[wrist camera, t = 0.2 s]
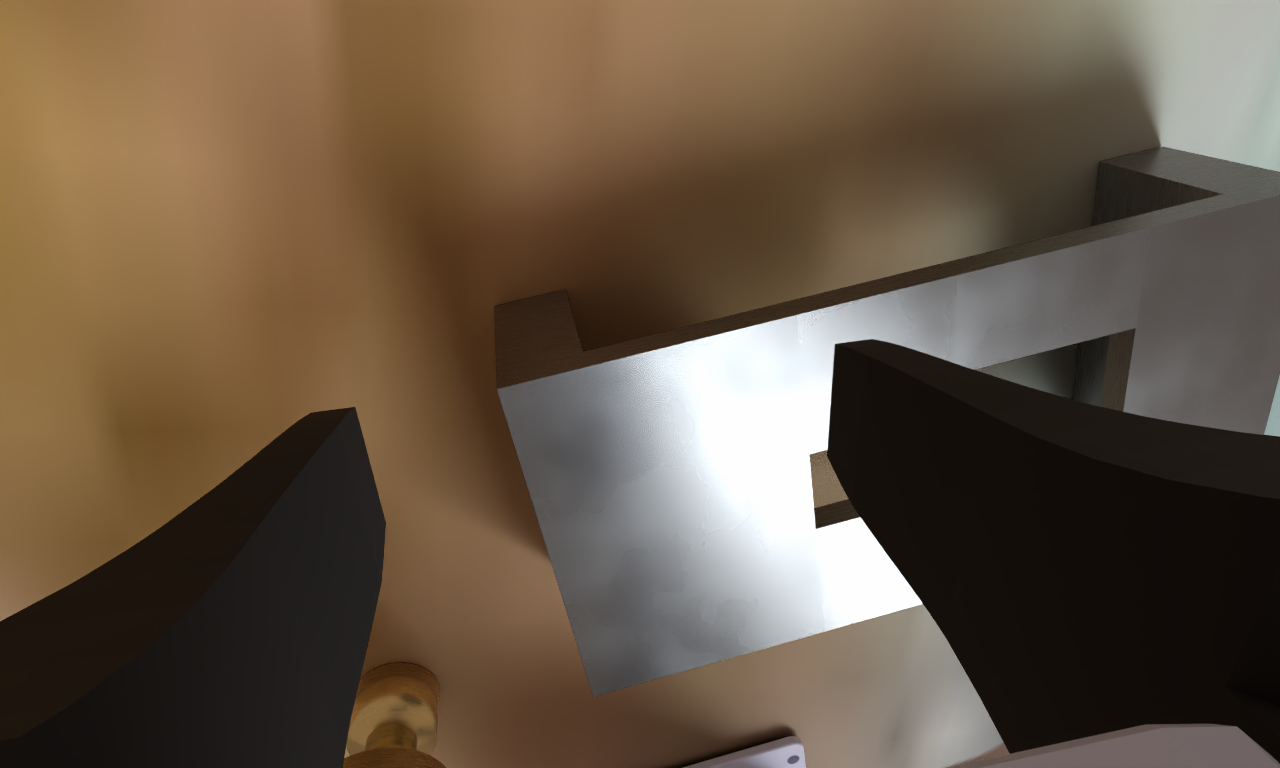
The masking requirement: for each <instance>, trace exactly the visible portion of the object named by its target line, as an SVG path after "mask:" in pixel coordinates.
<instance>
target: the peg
mask: <svg viewBox="0 0 1280 768" xmlns="http://www.w3.org/2000/svg"><path fill="white" fill-rule="evenodd" d="M439 689H440V688H439V683H438V681H437V679H436V677H435V676H434V675H433V674H432V673H431V672H430V671H428V670H427V669H425V668H423V667H421V666H418V665H415V664H410V663H390V664H385V665H382V666H379V667H377V668H374V669H373V670H371V671H369V672H368V673H367V674H365V675H364V676H363V677H362V679H361V680H360V681H359V685H358V690H357V694H356V699H355V703H354V708H353V712H352V716H351V721H350V726H349V732H348V738H347V743H346V745H347V750H348V752H349V754H350V756H349V757H346V758H344V764H343V768H446V767H445V766H444V765H443V764H442V763H441V762H440V761H438V760H437V759H435V758H434V757H432V756H430V755H429V754H430V753H431V752H432V750H433V749H434V747H435V744H436V736H437V721H438V706H439Z"/></svg>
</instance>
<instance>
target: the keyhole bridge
mask: <svg viewBox="0 0 1280 768" xmlns="http://www.w3.org/2000/svg"><path fill="white" fill-rule="evenodd" d="M494 317H495V348H496V379H497V391H498V395H499V398H500V401H501V404H502V407H503V411H504V414H505V417H506V420H507V423H508V426H509V430H510V433H511V436H512V439H513V442H514V446H515V449H516V452H517V455H518V458H519V461H520V465H521V468H522V471H523V474H524V477H525V481H526V484H527V487H528V490H529V493H530V497H531V500H532V503H533V506H534V509H535V512H536V516H537V519H538V522H539V525H540V528H541V532H542V535H543V538H544V541H545V544H546V547H547V551H548V554H549V557H550V560H551V563H552V567H553V570H554V573H555V576H556V579H557V583H558V586H559V589H560V592H561V595H562V598H563V602H564V605H565V608H566V611H567V614H568V618H569V621H570V624H571V627H572V630H573V634H574V637H575V640H576V643H577V646H578V649H579V653H580V656H581V659H582V662H583V665H584V669H585V672H586V675H587V678H588V681H589V684H590V688H591V691H592V694H593V697H594V696H598V695H602V694H605V693H609V692H612V691H616V690H619V689H623V688H626V687H630V686H633V685H637V684H640V683H644V682H648V681H651V680H655V679H658V678H662V677H665V676H669V675H672V674H676V673H679V672H683V671H687V670H690V669H694V668H697V667H701V666H704V665H708V664H711V663H715V662H718V661H722V660H725V659H729V658H733V657H736V656H740V655H743V654H747V653H750V652H754V651H757V650H761V649H764V648H768V647H772V646H775V645H779V644H782V643H786V642H789V641H793V640H796V639H800V638H803V637H807V636H810V635H814V634H818V633H821V632H825V631H828V630H832V629H835V628H839V627H842V626H846V625H849V624H853V623H857V622H860V621H864V620H867V619H871V618H874V617H878V616H881V615H885V614H888V613H892V612H895V611H899V610H903V609H906V608H910V607H913V606H917V605H920V604H923V603H922V602H921V600H920V599H919V598H918V596H917V595H916V594H915V592H914V591H913V589H912V588H911V587H910V585H909V584H908V583H907V581H906V580H905V578H904V577H903V576H902V574H901V573H900V572H899V570H898V569H897V567H896V566H895V565H894V563H893V562H892V561H891V559H890V558H889V556H888V555H887V554H886V552H885V551H884V550H883V548H882V547H881V545H880V544H879V543H878V541H877V540H876V538H875V537H874V536H873V534H872V533H871V531H870V530H869V529H868V527H867V526H866V524H865V523H864V522H863V520H862V519H861V517H860V516H859V514H858V513H857V512H856V510H855V509H854V507H853V506H852V504H851V502H850V500H849V499H847V500H844V501H840V502H836V503H832V504H829V505H825V506H821V507H818V508H814V503H813V492H812V480H811V469H810V457H809V454H813V453H816V452H820V451H824V450H827V449H828V434H829V420H830V406H831V391H832V377H833V362H834V348H835V344H838V343H845V342H853V341H861V340H868V339H875V340H881V341H885V342H890V343H893V344H897V345H901V346H904V347H907V348H910V349H914V350H917V351H920V352H923V353H926V354H929V355H932V356H935V357H938V358H941V359H944V360H947V361H950V362H953V363H955V364H958V365H961V366H964V367H967V368H970V369H973V370H975V369H979V368H983V367H987V366H991V365H995V364H999V363H1002V362H1006V361H1010V360H1014V359H1018V358H1022V357H1026V356H1029V355H1033V354H1037V353H1041V352H1045V351H1049V350H1053V349H1057V348H1060V347H1064V346H1068V345H1072V344H1076V343H1079V350H1078V358H1077V367H1076V376H1075V385H1074V394H1073V400H1075V401H1079V402H1083V403H1087V404H1091V405H1095V406H1100V407H1104V408H1109V409H1113V410H1118V411H1122V412H1127V413H1131V414H1136V415H1141V416H1145V417H1150V418H1156V419H1161V420H1167V421H1172V422H1178V423H1184V424H1190V425H1197V426H1204V427H1210V428H1217V429H1223V430H1230V431H1236V432H1244V433H1252V434H1261V435H1264V432H1265V428H1266V425H1267V421H1268V417H1269V413H1270V409H1271V405H1272V402H1273V398H1274V394H1275V390H1276V386H1277V382H1278V379H1279V375H1280V172H1277V171H1273V170H1268V169H1263V168H1259V167H1254V166H1250V165H1245V164H1240V163H1236V162H1231V161H1227V160H1222V159H1217V158H1213V157H1208V156H1204V155H1199V154H1194V153H1190V152H1185V151H1180V150H1176V149H1171V148H1167V147H1158V148H1154V149H1150V150H1146V151H1142V152H1138V153H1133V154H1129V155H1125V156H1121V157H1117V158H1112V159H1108V160H1104V161H1100V163H1099V172H1098V181H1097V190H1096V199H1095V208H1094V216H1093V225H1092V227H1088V228H1084V229H1080V230H1076V231H1072V232H1068V233H1064V234H1060V235H1056V236H1051V237H1047V238H1043V239H1039V240H1035V241H1031V242H1027V243H1023V244H1019V245H1015V246H1011V247H1007V248H1003V249H999V250H995V251H990V252H986V253H982V254H978V255H974V256H970V257H966V258H962V259H958V260H954V261H950V262H946V263H942V264H938V265H934V266H930V267H925V268H921V269H917V270H913V271H909V272H905V273H901V274H897V275H893V276H889V277H885V278H881V279H877V280H873V281H869V282H865V283H860V284H856V285H852V286H848V287H844V288H840V289H836V290H832V291H828V292H824V293H820V294H816V295H812V296H808V297H804V298H800V299H795V300H791V301H787V302H783V303H779V304H775V305H771V306H767V307H763V308H759V309H755V310H751V311H747V312H743V313H739V314H735V315H730V316H726V317H722V318H718V319H714V320H710V321H706V322H702V323H698V324H694V325H690V326H686V327H682V328H678V329H674V330H670V331H665V332H661V333H657V334H653V335H649V336H645V337H641V338H637V339H633V340H629V341H625V342H621V343H617V344H613V345H609V346H605V347H600V348H596V349H592V350H588V351H584V352H583V350H582V347H581V343H580V340H579V336H578V333H577V329H576V325H575V322H574V318H573V315H572V311H571V308H570V304H569V300H568V297H567V293H566V290H561V291H556V292H552V293H548V294H544V295H540V296H535V297H531V298H527V299H523V300H519V301H515V302H510V303H506V304H502V305H498V306H494Z"/></svg>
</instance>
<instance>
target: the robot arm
mask: <svg viewBox="0 0 1280 768" xmlns="http://www.w3.org/2000/svg"><path fill="white" fill-rule="evenodd" d="M827 457H828V459H829V461H830V463H831V465H832V467H833V469H834V471H835V473H836V475H837V477H838V479H839V481H840V483H841V485H842V487H843V489H844V491H845V493H846V495H847V497H848V498H849V500H850V502H851V504H852V506H853V507H854V509H855V510H856V512H857V513H858V514H859V516H860V517H861V519H862V520H863V522H864V523H865V524H866V526H867V527H868V529H869V530H870V531H871V533H872V534H873V536H874V537H875V538H876V540H877V541H878V543H879V544H880V545H881V547H882V548H883V550H884V551H885V552H886V554H887V555H888V556H889V558H890V559H891V561H892V562H893V563H894V565H895V566H896V567H897V569H898V570H899V572H900V573H901V574H902V576H903V577H904V578H905V580H906V581H907V583H908V584H909V585H910V587H911V588H912V589H913V591H914V592H915V594H916V595H917V596H918V598H919V599H920V600H921V602H922V603H923V605H924V606H925V607H926V609H927V610H928V611H929V613H930V614H931V616H932V617H933V619H934V620H935V622H936V623H937V625H938V626H939V628H940V629H941V631H942V632H943V634H944V635H945V637H946V639H947V640H948V642H949V644H950V646H951V647H952V649H953V651H954V653H955V654H956V656H957V658H958V660H959V661H960V663H961V665H962V667H963V668H964V670H965V672H966V674H967V675H968V677H969V679H970V681H971V682H972V684H973V686H974V688H975V689H976V691H977V693H978V695H979V696H980V698H981V700H982V702H983V704H984V706H985V708H986V710H987V712H988V713H989V715H990V717H991V719H992V721H993V723H994V725H995V727H996V728H997V730H998V732H999V734H1000V736H1001V738H1002V740H1003V742H1004V744H1005V745H1006V747H1007V749H1008V751H1009V753H1010V754H1007V755H1002V756H998V757H993V758H989V759H984V760H979V761H975V762H970V763H965V764H961V765H956V766H952V767H947V768H1280V437H1278V436H1269V435H1261V434H1252V433H1244V432H1236V431H1230V430H1223V429H1217V428H1210V427H1204V426H1197V425H1190V424H1184V423H1178V422H1172V421H1167V420H1161V419H1156V418H1150V417H1145V416H1141V415H1136V414H1131V413H1127V412H1122V411H1118V410H1113V409H1109V408H1104V407H1100V406H1095V405H1091V404H1087V403H1083V402H1079V401H1075V400H1071V399H1068V398H1064V397H1060V396H1057V395H1053V394H1050V393H1047V392H1043V391H1040V390H1036V389H1033V388H1029V387H1026V386H1022V385H1019V384H1016V383H1013V382H1010V381H1007V380H1003V379H1000V378H997V377H994V376H991V375H988V374H985V373H982V372H979V371H976V370H973V369H970V368H967V367H964V366H961V365H958V364H955V363H953V362H950V361H947V360H944V359H941V358H938V357H935V356H932V355H929V354H926V353H923V352H920V351H917V350H914V349H910V348H907V347H904V346H901V345H897V344H893V343H890V342H885V341H881V340H875V339H868V340H861V341H853V342H845V343H838V344H835V348H834V362H833V377H832V391H831V406H830V420H829V434H828V449H827ZM385 527H386V522H385V518H384V514H383V511H382V507H381V503H380V499H379V495H378V492H377V488H376V484H375V480H374V476H373V473H372V469H371V465H370V461H369V457H368V454H367V450H366V446H365V442H364V438H363V435H362V431H361V427H360V423H359V419H358V416H357V412H356V408H355V407H351V408H343V409H336V410H328V411H321V412H313V413H310V414H308V415H306V416H305V417H303V418H302V419H300V420H299V421H298V422H296V423H295V424H294V425H292V426H291V427H290V428H288V429H287V430H286V431H285V432H283V433H282V434H281V435H280V436H278V437H277V438H276V439H275V440H273V441H272V442H271V443H270V444H269V445H267V446H266V447H265V448H264V449H262V450H261V451H260V452H259V453H258V454H256V455H255V456H254V457H253V458H251V459H250V460H249V461H248V462H246V463H245V464H244V465H243V466H241V467H240V468H239V469H238V470H237V471H235V472H234V473H233V474H232V475H230V476H229V477H228V478H227V479H225V480H224V481H223V482H222V483H220V484H219V485H218V486H216V487H215V488H214V489H212V490H211V491H210V492H208V493H207V494H206V495H204V496H203V497H201V498H200V499H199V500H197V501H196V502H195V503H193V504H192V505H191V506H189V507H188V508H187V509H185V510H184V511H183V512H181V513H180V514H178V515H177V516H176V517H174V518H173V519H172V520H170V521H169V522H168V523H166V524H165V525H164V526H162V527H161V528H159V529H158V530H156V531H155V532H153V533H152V534H151V535H149V536H148V537H146V538H145V539H143V540H142V541H140V542H138V543H137V544H135V545H134V546H132V547H131V548H129V549H128V550H126V551H125V552H123V553H121V554H120V555H118V556H116V557H115V558H113V559H112V560H110V561H108V562H107V563H105V564H103V565H102V566H100V567H99V568H97V569H95V570H94V571H92V572H90V573H89V574H87V575H85V576H84V577H82V578H80V579H79V580H77V581H75V582H73V583H72V584H70V585H68V586H66V587H64V588H62V589H61V590H59V591H57V592H55V593H53V594H51V595H49V596H47V597H46V598H44V599H42V600H40V601H38V602H36V603H34V604H32V605H30V606H29V607H27V608H25V609H23V610H21V611H19V612H17V613H15V614H13V615H12V616H10V617H8V618H6V619H4V620H2V621H0V768H343V764H344V755H345V749H346V743H347V738H348V732H349V726H350V721H351V716H352V712H353V708H354V703H355V699H356V694H357V690H358V685H359V681H360V677H361V672H362V668H363V663H364V659H365V655H366V650H367V646H368V642H369V637H370V633H371V628H372V624H373V619H374V615H375V610H376V605H377V601H378V596H379V591H380V587H381V582H382V570H383V558H384V543H385ZM683 768H806V764H805V756H804V748H803V745H802V743H801V741H800V739H799V738H798V737H795V736H789V737H785V738H782V739H778V740H775V741H772V742H768V743H765V744H761V745H758V746H755V747H751V748H748V749H744V750H741V751H737V752H734V753H731V754H727V755H724V756H720V757H717V758H714V759H710V760H707V761H703V762H700V763H696V764H693V765H690V766H686V767H683Z"/></svg>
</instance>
